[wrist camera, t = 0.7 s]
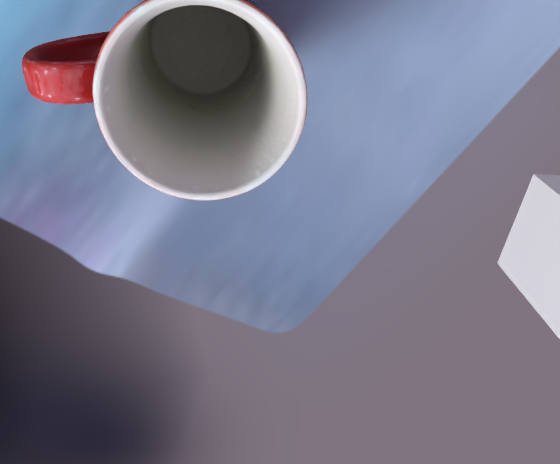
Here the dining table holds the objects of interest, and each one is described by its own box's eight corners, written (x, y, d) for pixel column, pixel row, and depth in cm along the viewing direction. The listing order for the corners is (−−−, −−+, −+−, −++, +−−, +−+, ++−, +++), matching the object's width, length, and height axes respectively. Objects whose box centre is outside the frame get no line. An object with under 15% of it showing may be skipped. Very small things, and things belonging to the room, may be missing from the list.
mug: (283, -28, 32) (326, 6, 20) (264, 115, 36) (291, 208, 25) (65, -61, 29) (-24, -43, 18) (74, 96, 34) (8, 189, 23)
